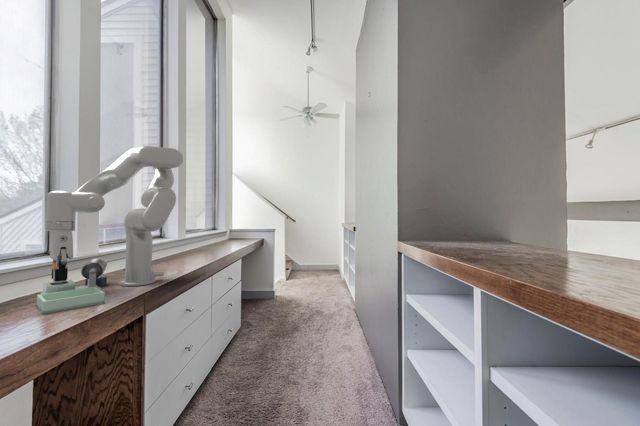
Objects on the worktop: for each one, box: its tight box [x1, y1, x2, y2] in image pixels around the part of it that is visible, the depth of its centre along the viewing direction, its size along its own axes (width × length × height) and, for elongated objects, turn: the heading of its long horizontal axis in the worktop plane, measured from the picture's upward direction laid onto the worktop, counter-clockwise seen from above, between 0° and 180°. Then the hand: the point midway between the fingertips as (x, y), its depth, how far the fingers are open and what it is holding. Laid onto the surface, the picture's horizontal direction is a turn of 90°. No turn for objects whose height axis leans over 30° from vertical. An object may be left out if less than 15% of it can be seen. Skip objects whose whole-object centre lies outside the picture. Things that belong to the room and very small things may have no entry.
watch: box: [84, 258, 108, 288], centre depth 117 cm, size 6×8×11 cm
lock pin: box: [51, 262, 66, 285], centre depth 100 cm, size 4×4×10 cm
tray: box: [36, 287, 106, 315], centre depth 92 cm, size 15×12×4 cm
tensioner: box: [40, 262, 103, 294], centre depth 103 cm, size 16×9×11 cm, turn 141°
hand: (59, 279), depth 100 cm, fingers open, 4 cm apart
